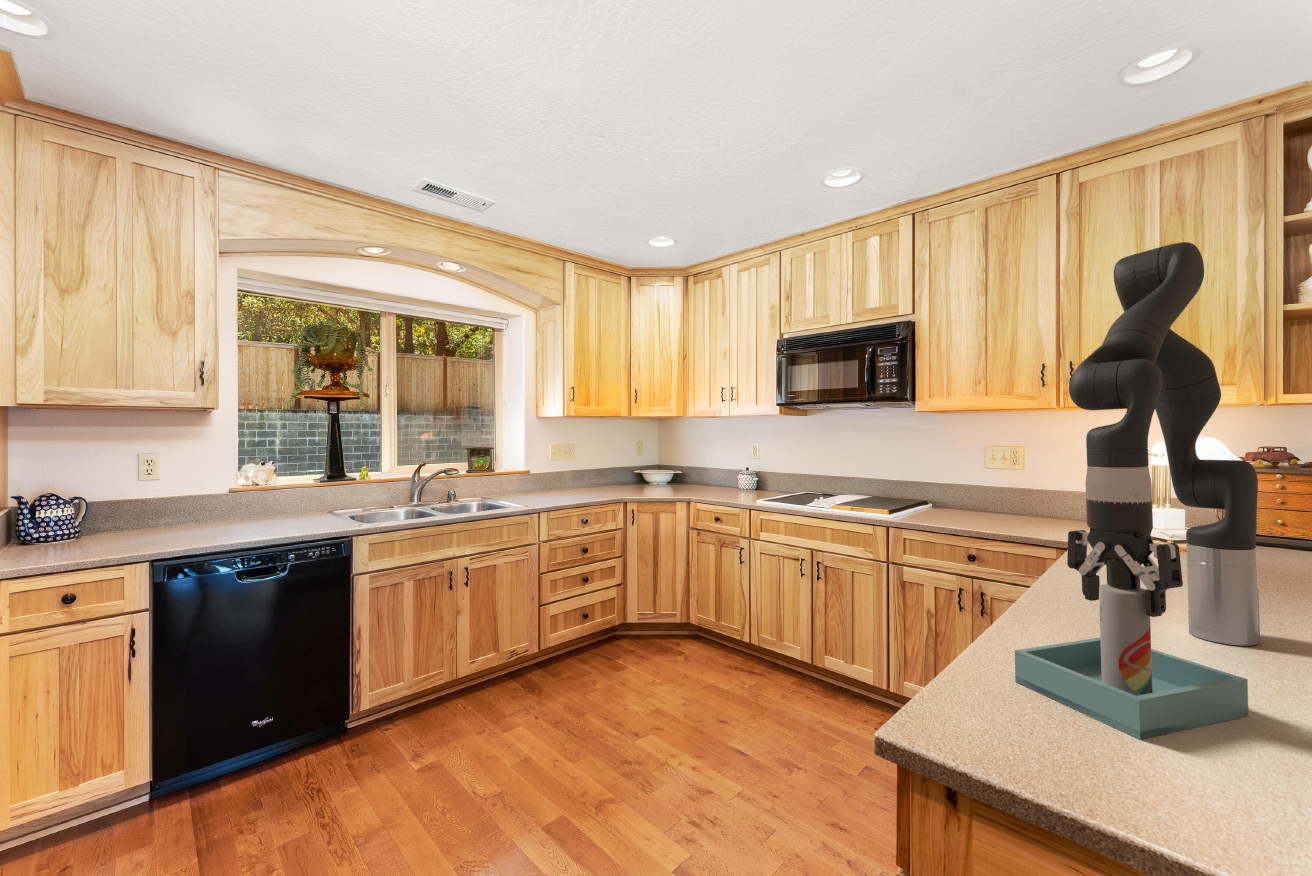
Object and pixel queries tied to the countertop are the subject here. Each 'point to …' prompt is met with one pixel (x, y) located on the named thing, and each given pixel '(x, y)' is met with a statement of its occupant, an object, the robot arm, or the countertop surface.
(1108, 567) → the lotion bottle
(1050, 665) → the tray
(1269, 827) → the countertop surface
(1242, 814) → the countertop surface
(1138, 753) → the countertop surface
